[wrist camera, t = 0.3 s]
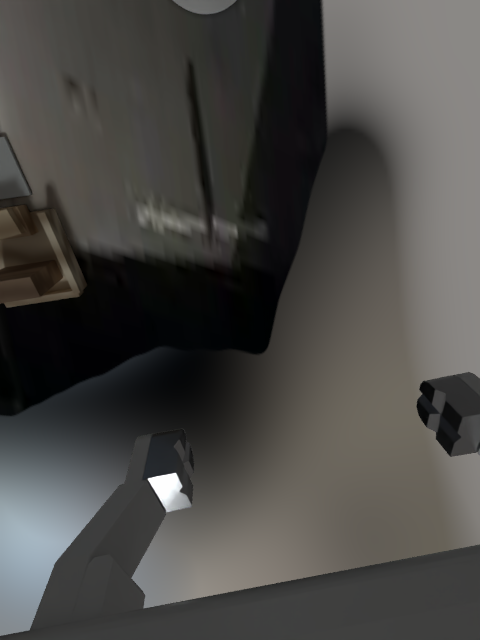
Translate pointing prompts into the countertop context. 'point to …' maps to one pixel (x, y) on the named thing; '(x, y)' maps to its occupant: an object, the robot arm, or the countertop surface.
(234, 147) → the countertop surface
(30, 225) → the offcut lower
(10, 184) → the mat
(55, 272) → the dark brown wood block
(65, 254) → the tray
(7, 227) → the offcut upper
